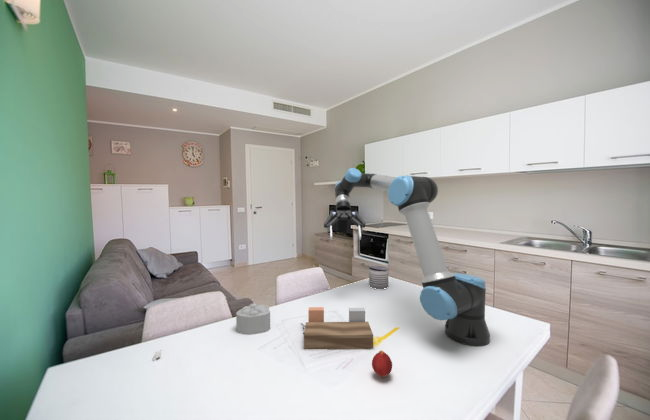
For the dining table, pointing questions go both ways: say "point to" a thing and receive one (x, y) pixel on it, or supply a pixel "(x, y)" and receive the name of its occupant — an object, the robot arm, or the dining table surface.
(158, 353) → the adhesive hook
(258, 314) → the lumpy-topped squat cylinder
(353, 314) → the grey plunger
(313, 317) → the peach rectangular block
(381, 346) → the dining table surface
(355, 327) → the plunger housing
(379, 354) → the red oval fruit
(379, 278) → the can
